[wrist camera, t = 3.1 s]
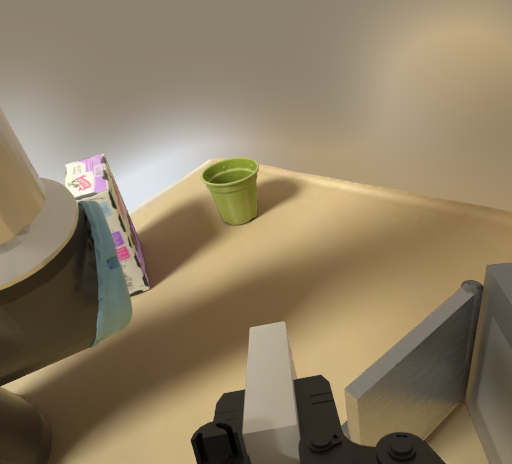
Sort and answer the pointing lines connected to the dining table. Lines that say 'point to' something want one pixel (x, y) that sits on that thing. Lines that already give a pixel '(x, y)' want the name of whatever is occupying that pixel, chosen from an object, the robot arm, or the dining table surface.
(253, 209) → the plant pot
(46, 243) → the robot arm
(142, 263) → the candy box
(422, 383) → the side door
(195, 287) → the dining table surface
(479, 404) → the grey inset panel box
